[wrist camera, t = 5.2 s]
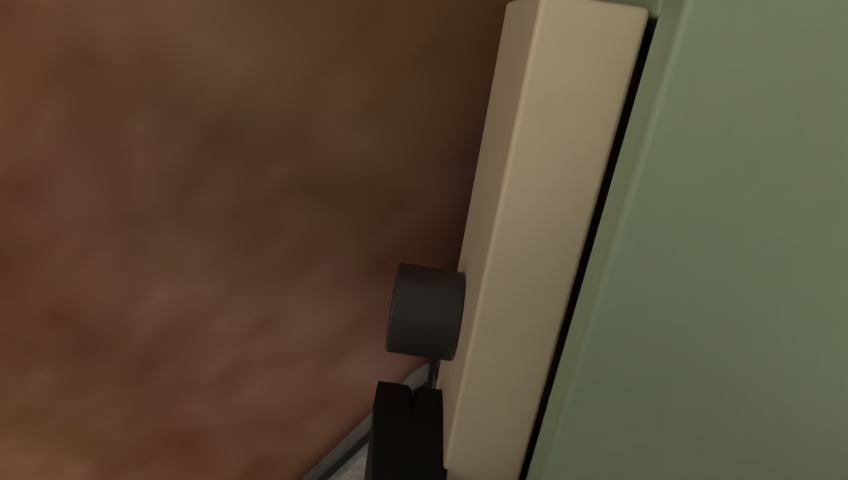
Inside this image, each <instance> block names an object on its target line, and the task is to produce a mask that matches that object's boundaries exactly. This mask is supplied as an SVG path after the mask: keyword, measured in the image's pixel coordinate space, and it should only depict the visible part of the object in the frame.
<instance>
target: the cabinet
mask: <svg viewBox="0 0 848 480" xmlns="http://www.w3.org/2000/svg"><path fill="white" fill-rule="evenodd" d="M600 1H607V2H613V3H620V4H626V5H633V6H639V7H644V8H646V9H647V10H648V11H649V18H648V21H647V25H646V29H645V32H644V36H643V39H642V43H641V46H640V50H639V53H638V57H637V60H638V59H647V60H646V63H645V67H644V70H643V74H642V77H641V81H640V84H639V87H638V91H637V94H636V98H635V101H634V105H633V108H632V112H631V115H630V119H629V122H628V126H627V129H626V133H625V136H624V140H623V143H622V147H621V150H620V154H619V157H618V161H617V164H616V168H615V171H614V175H613V178H612V182H611V185H610V189H609V192H608V196H607V199H606V203H605V206H604V210H603V213H602V217H601V220H600V224H599V227H598V231H597V234H596V237H595V241H594V244H593V248H592V251H591V255H590V258H589V262H588V265H587V269H586V272H585V276H584V279H583V283H582V286H581V290H580V293H579V297H578V300H577V304H576V307H575V311H574V314H573V318H572V321H571V325H570V328H569V332H568V335H567V339H566V342H565V346H564V349H563V353H562V356H561V360H560V363H559V367H558V370H557V374H556V377H555V381H554V384H553V387H552V391H551V394H550V398H549V401H548V405H547V408H546V412H545V415H544V419H543V422H542V426H541V429H540V433H539V436H538V440H537V443H536V447H535V450H534V454H533V457H532V461H531V464H530V468H529V471H528V475H527V470H526V463H525V460H524V464H523V468H522V471H521V475H520V478H519V480H848V0H600Z"/></svg>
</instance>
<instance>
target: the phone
mask: <svg viewBox="0 0 848 480" xmlns="http://www.w3.org/2000/svg"><path fill="white" fill-rule="evenodd" d="M440 363H441V360H437V361H434V362H430V363H427V364H425V365H423V366H422V367H420V368H419V369H417V370H416V371H414V372H413V373H412V374H411V375H410V376H409V377H408V378H407V379H406V380H405V381H404V382H403V383H402V384H404V385H408V386H409V387H410V388H411V390H412V397H413V396H414V390H416V389H418V388H419V387H426V388H434V389H436V384H437V379H438V374H439V368H440ZM372 414H373V411H372V412H371V413H370V414H369V415H368V416H367V417H366V418H365V419H364V420H363V421H362V422H361V423H360V424H359V425H358V426H356V427H355V428H354V429H353V430H352V431H351V432H350V433H349V434H348V435H347V436H346V437H345V438H344V439H343V440H342V441H341V442H340V443H339V444H338V445H336V446H335V447H334V448H333V449H332V450H331V451H330V452H329V453H328V454H327V455H326V456H325V457H324V458H323V459H322V460H321V461H320V462H319V463H318V464H316V465H315V466H314V467H313V468H312V469H311V470H310V471H309V472H308V473H307V474H306V475H305V476H304V477H303V478H302V479H301V480H364V475H365V467H366V460H367V452H368V444H369V437H370V429H371V421H372Z"/></svg>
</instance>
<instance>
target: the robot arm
mask: <svg viewBox="0 0 848 480" xmlns="http://www.w3.org/2000/svg"><path fill="white" fill-rule="evenodd" d="M447 471H448V469H445V468H444V466H443V394H442V390H441V389H434V388H426V387H419V388H418V389H416V390H414V396H413V397H412V390H411V388H410V387H409V386H408V385H404V384H397V383H390V382H382V381H378V385H377V390H376V395H375V400H374V406H373V414H372V421H371V429H370V437H369V444H368V452H367V460H366V467H365V475H364V480H447Z"/></svg>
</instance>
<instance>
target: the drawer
mask: <svg viewBox="0 0 848 480" xmlns="http://www.w3.org/2000/svg"><path fill="white" fill-rule="evenodd" d="M648 18H649V11H648V10H647V9H646V8H644V7H639V6H633V5H626V4H620V3H613V2H607V1H600V0H516V1H512V2H509V3H508V4H507V7H506V12H505V18H504V23H503V29H502V34H501V39H500V45H499V50H498V56H497V61H496V66H495V72H494V77H493V82H492V88H491V93H490V99H489V104H488V109H487V115H486V120H485V126H484V131H483V136H482V142H481V147H480V153H479V158H478V163H477V169H476V174H475V180H474V185H473V190H472V196H471V201H470V207H469V212H468V217H467V223H466V228H465V233H464V239H463V244H462V250H461V255H460V260H459V266H458V271H452V270H445V269H439V268H432V267H426V266H419V265H413V264H406V263H400V264H399V266H398V270H397V275H396V280H395V285H394V291H393V297H392V303H391V309H390V316H389V323H388V330H387V338H386V351H388V352H393V353H399V354H406V355H412V356H419V357H425V358H432V359H439V360H441V363H440V368H439V374H438V379H437V384H436V389H441V390H442V394H443V466H444V468H445V469H448V471H447V480H519V478H520V475H521V471H522V468H523V464H524V460H525V463H526V470H527V475H528V471H529V468H530V464H531V461H532V457H533V454H534V450H535V447H536V443H537V440H538V436H539V433H540V429H541V426H542V422H543V419H544V415H545V412H546V408H547V405H548V401H549V398H550V394H551V391H552V387H553V384H554V381H555V377H556V374H557V370H558V367H559V363H560V360H561V356H562V353H563V349H564V346H565V342H566V339H567V335H568V332H569V328H570V325H571V321H572V318H573V314H574V311H575V307H576V304H577V300H578V297H579V293H580V290H581V286H582V283H583V279H584V276H585V272H586V269H587V265H588V262H589V258H590V255H591V251H592V248H593V244H594V241H595V237H596V234H597V231H598V227H599V224H600V220H601V217H602V213H603V210H604V206H605V203H606V199H607V196H608V192H609V189H610V185H611V182H612V178H613V175H614V171H615V168H616V164H617V161H618V157H619V154H620V150H621V147H622V143H623V140H624V136H625V133H626V129H627V126H628V122H629V119H630V115H631V112H632V108H633V105H634V101H635V98H636V94H637V91H638V87H639V84H640V81H641V77H642V74H643V70H644V67H645V63H646V60H647V59H638V60H637V57H638V53H639V50H640V46H641V43H642V39H643V36H644V32H645V29H646V25H647V21H648Z"/></svg>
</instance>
